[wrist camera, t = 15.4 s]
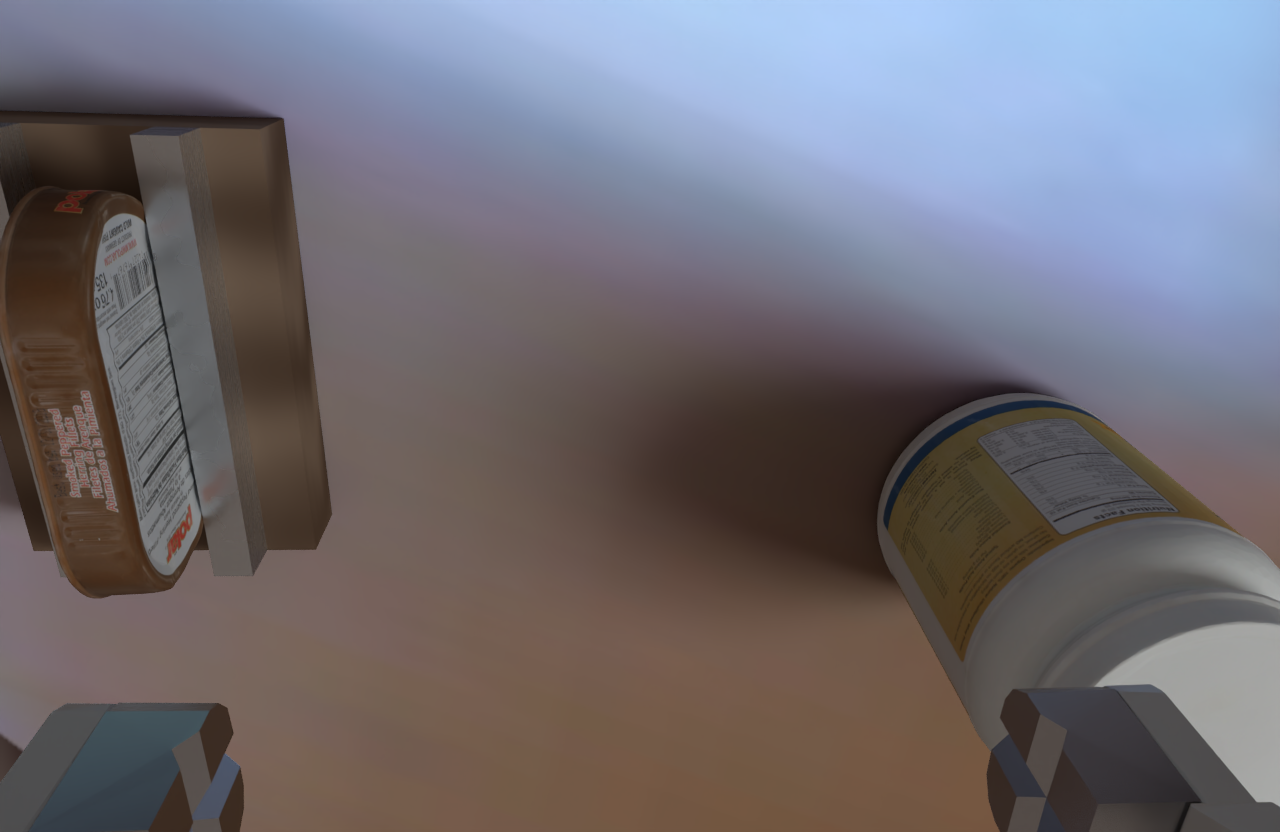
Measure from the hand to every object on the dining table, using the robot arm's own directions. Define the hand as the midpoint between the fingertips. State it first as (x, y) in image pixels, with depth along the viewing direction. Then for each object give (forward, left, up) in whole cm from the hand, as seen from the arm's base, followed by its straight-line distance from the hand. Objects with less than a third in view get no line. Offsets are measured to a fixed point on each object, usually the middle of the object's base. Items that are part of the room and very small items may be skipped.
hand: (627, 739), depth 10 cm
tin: (+7, -17, -28) cm, 34 cm away
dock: (+7, -18, -31) cm, 37 cm away
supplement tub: (+15, +20, -31) cm, 40 cm away
